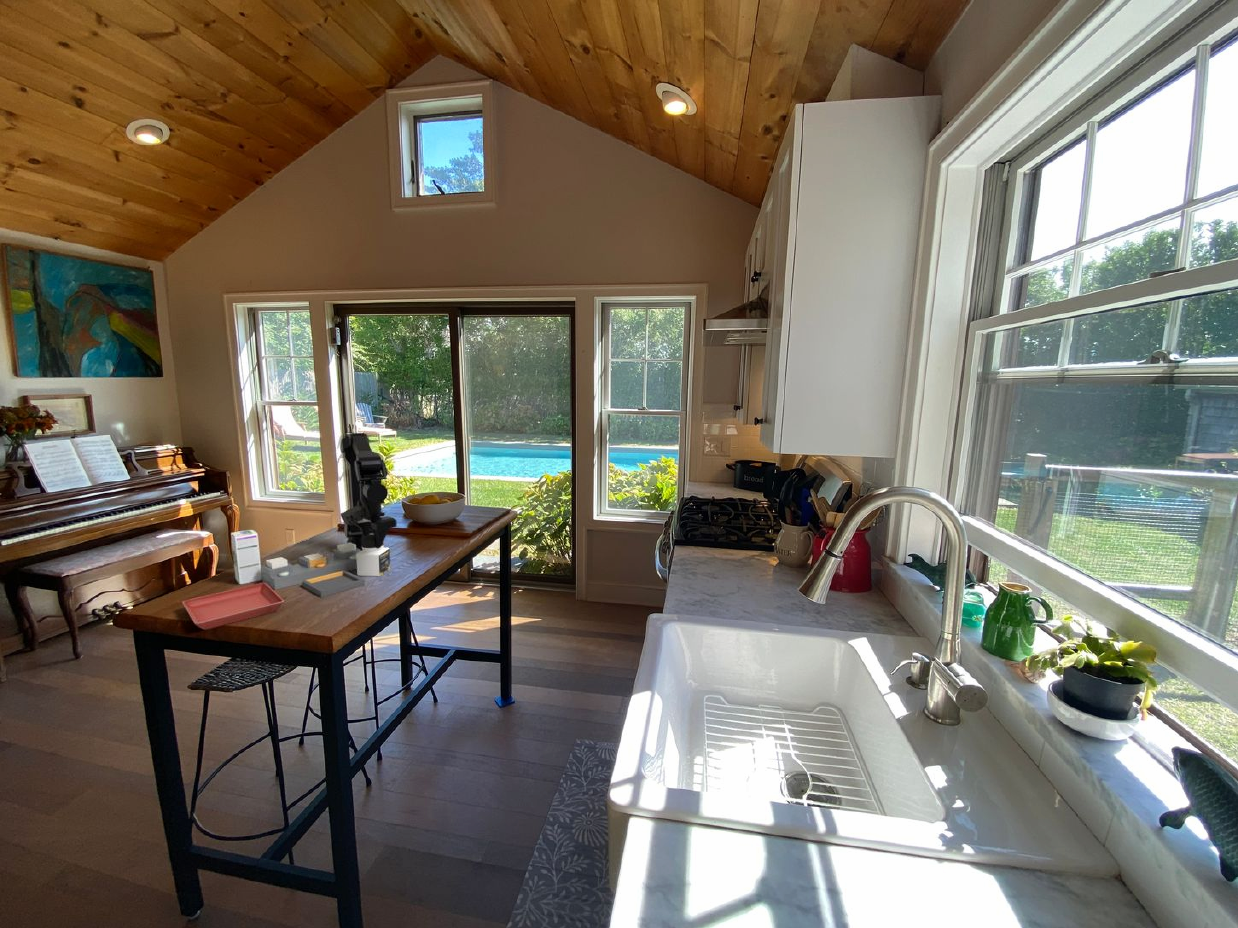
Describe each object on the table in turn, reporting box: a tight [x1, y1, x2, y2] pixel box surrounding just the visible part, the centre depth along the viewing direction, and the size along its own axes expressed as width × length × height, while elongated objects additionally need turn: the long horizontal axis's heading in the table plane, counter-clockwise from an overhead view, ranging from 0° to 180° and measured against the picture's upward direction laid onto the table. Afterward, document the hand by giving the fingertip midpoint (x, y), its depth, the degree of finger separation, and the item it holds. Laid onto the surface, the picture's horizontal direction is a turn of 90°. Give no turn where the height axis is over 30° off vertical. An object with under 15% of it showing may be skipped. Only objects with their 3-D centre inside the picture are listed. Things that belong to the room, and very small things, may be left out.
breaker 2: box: [336, 542, 356, 553], centre depth 167 cm, size 4×4×2 cm
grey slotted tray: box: [261, 548, 360, 591], centre depth 159 cm, size 26×9×5 cm, turn 143°
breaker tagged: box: [303, 552, 324, 561], centre depth 160 cm, size 4×4×2 cm
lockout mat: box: [301, 570, 366, 598], centre depth 150 cm, size 12×12×2 cm
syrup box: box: [230, 529, 263, 585], centre depth 152 cm, size 6×6×14 cm
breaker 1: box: [265, 556, 288, 569], centre depth 152 cm, size 4×4×2 cm
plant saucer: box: [181, 582, 285, 631], centre depth 132 cm, size 18×18×3 cm
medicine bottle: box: [356, 533, 391, 577], centre depth 161 cm, size 7×7×12 cm
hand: (372, 546), depth 161 cm, fingers closed on medicine bottle, 6 cm apart
